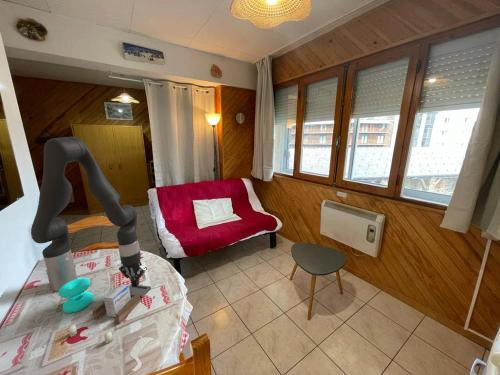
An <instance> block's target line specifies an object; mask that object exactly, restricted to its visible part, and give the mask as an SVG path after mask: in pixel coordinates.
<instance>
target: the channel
mask: <svg viewBox="0 0 500 375" xmlns="http://www.w3.org/2000/svg"><path fill="white" fill-rule="evenodd" d="M141 299H142V298H140V293H136V294H135V295H134V296H133V297H131V299H130V300H129V301H128V302H127V303H126V304H125V305H124V306H123V307H122V308H121V309H120V310H119V311H118V312H117V313H116V317H115V318H116V323H117V324H121V323H122V322H123V321H124V320H125V319H126V318H127V317H128V316H129V315H130V314H131V313H132V311H133V310H135V308H136V307H137V306H138V305H139V304H140V303H141V302H142V300H141ZM105 313H107V312H106V307H105V303H104V300H103V301H102V302H100V303H99V304H98V305H97V306H96V307H95V308H94V309H92V314H93V318H94V320H97V321H98V320H99V319H100V318H101V317H102V316H103V315H104V314H105Z"/></svg>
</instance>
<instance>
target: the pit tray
mask: <svg viewBox="0 0 500 375" xmlns="http://www.w3.org/2000/svg"><path fill="white" fill-rule="evenodd" d="M151 289H152V287H151V286H149V285H143V284H139V285H138V286H137V287H132V284H130V285H129V290H130V296H131V298H132V297H133V296H134V295H135V294H136V293H140V299H143V298H144V297H145V296H146V295H147V293H148V292H150V290H151Z"/></svg>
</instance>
